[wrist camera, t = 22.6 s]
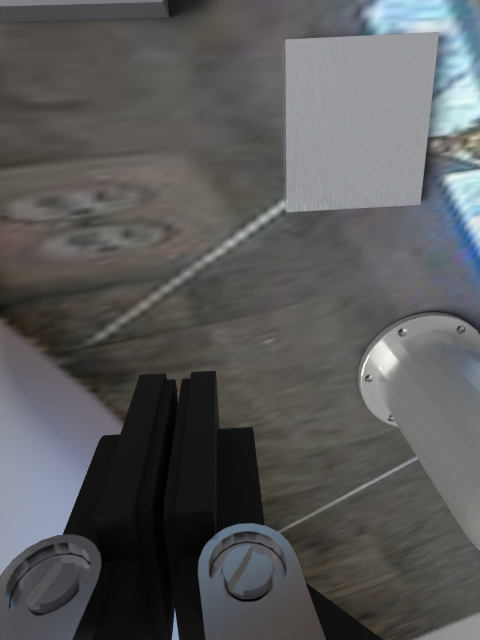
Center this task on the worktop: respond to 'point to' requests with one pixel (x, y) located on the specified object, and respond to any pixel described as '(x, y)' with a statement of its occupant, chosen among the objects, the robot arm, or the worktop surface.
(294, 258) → the worktop surface
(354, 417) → the worktop surface
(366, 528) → the worktop surface
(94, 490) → the robot arm
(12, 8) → the slot holder
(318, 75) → the cover plate
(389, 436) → the worktop surface
